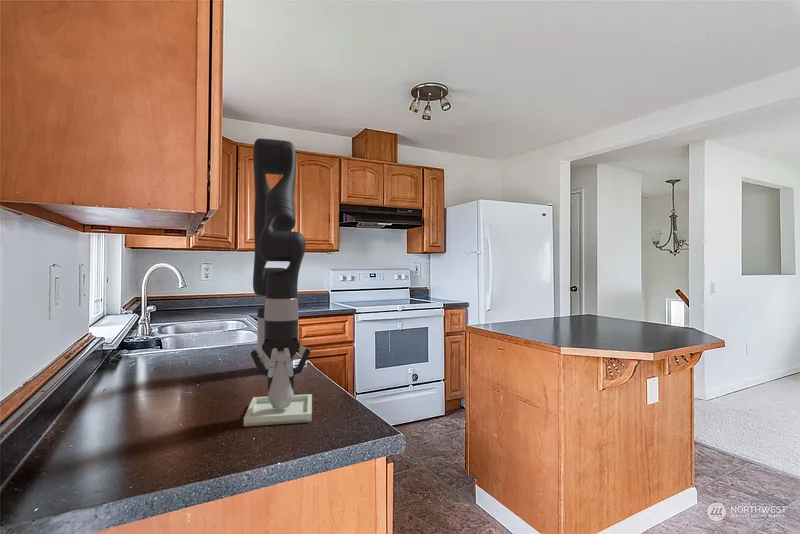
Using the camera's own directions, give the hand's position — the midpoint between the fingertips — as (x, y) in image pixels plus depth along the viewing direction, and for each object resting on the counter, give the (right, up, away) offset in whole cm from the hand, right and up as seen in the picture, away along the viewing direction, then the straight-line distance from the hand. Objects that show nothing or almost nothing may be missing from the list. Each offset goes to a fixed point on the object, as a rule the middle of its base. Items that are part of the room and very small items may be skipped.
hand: (280, 391), depth 95 cm
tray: (0, -5, 0) cm, 5 cm away
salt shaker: (0, -3, 0) cm, 3 cm away
